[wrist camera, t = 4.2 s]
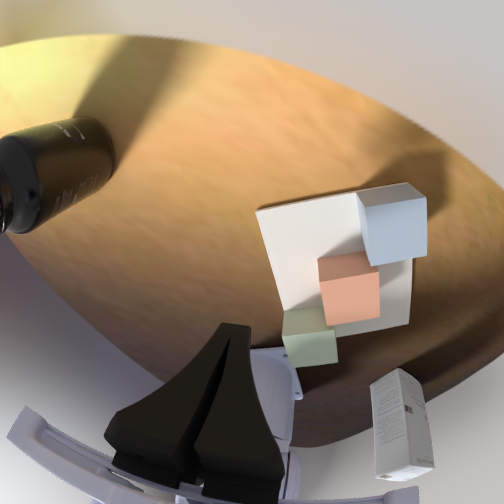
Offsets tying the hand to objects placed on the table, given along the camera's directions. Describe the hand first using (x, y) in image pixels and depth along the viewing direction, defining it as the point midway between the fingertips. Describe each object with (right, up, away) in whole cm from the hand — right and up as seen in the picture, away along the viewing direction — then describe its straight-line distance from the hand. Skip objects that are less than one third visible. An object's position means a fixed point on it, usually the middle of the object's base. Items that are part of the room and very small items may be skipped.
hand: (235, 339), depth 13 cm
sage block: (+6, -2, +11) cm, 13 cm away
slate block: (+10, +7, +5) cm, 13 cm away
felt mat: (+8, +2, +8) cm, 12 cm away
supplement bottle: (-13, +12, +7) cm, 19 cm away
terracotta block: (+8, +2, +8) cm, 12 cm away
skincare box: (+18, -11, +15) cm, 25 cm away
